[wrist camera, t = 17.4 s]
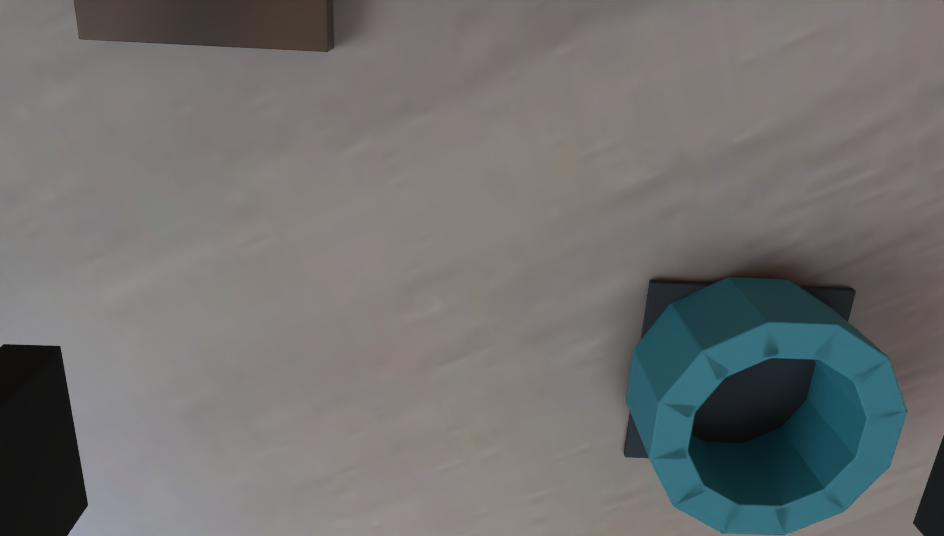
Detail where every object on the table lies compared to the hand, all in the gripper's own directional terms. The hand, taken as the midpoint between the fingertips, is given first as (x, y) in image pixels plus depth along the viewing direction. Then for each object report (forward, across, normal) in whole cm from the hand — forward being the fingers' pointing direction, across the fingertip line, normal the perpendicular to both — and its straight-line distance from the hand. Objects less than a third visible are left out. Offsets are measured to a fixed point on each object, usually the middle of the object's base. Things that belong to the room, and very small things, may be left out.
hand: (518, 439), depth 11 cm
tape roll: (+23, +14, -12) cm, 29 cm away
